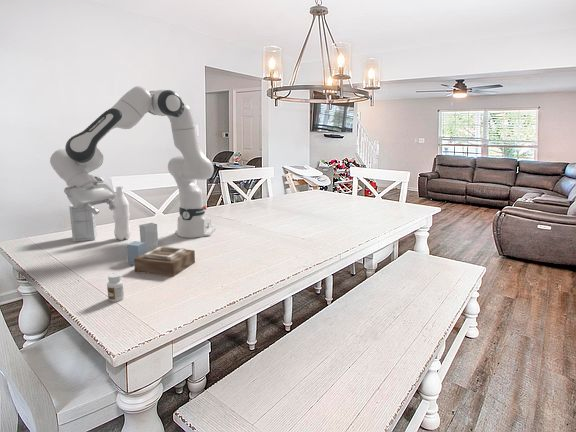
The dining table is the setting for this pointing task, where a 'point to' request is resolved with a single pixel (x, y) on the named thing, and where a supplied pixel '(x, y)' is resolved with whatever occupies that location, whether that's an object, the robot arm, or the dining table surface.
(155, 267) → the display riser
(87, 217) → the supplement box
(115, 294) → the pill bottle
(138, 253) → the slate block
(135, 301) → the dining table surface
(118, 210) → the water bottle
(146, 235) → the skincare box
